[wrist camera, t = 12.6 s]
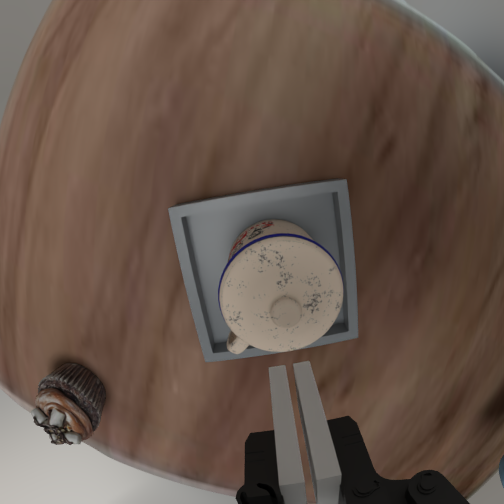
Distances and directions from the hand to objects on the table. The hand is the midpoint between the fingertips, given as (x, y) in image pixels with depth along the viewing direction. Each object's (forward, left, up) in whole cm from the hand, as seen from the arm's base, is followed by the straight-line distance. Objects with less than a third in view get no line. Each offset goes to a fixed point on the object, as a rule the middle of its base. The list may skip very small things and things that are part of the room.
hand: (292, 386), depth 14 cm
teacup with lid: (0, 0, -18) cm, 18 cm away
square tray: (0, 0, -18) cm, 18 cm away
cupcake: (+28, +13, -19) cm, 36 cm away
